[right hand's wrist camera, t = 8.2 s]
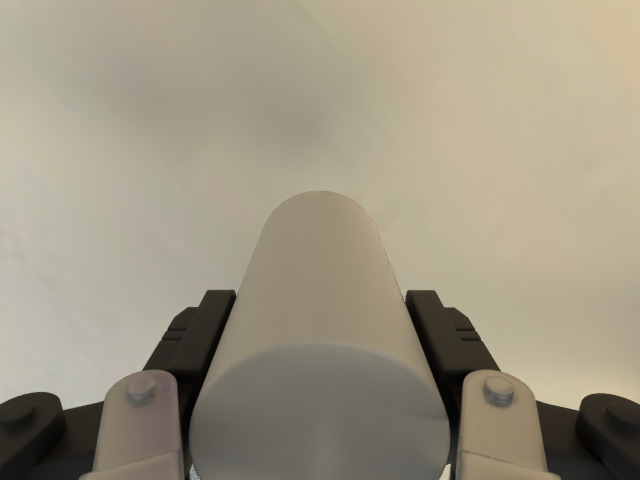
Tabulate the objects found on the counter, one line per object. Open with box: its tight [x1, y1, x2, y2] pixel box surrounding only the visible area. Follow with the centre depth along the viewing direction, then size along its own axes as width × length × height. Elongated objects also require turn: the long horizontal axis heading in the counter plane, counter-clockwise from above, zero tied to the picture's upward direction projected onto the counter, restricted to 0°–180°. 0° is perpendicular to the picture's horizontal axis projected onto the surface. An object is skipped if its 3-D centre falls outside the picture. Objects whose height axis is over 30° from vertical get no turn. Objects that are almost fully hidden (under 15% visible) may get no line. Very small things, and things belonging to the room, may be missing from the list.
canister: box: [189, 191, 451, 480], centre depth 12 cm, size 5×5×10 cm
